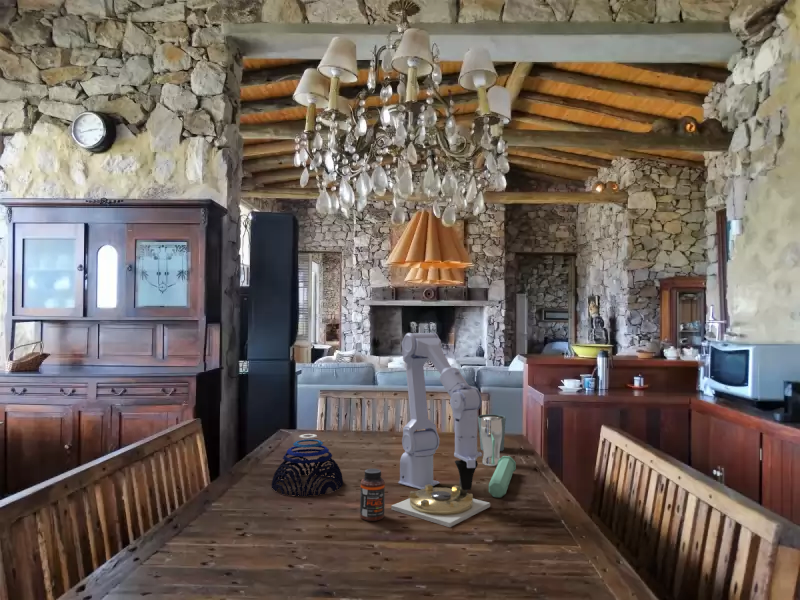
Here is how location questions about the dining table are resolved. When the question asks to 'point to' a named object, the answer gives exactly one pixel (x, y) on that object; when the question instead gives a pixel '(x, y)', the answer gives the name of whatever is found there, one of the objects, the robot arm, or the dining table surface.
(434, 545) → the dining table surface
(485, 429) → the beer glass
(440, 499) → the brass round disc
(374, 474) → the supplement bottle
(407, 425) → the robot arm
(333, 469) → the decorative bowl
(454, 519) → the dial plate
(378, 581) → the dining table surface
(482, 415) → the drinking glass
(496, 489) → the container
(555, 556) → the dining table surface
